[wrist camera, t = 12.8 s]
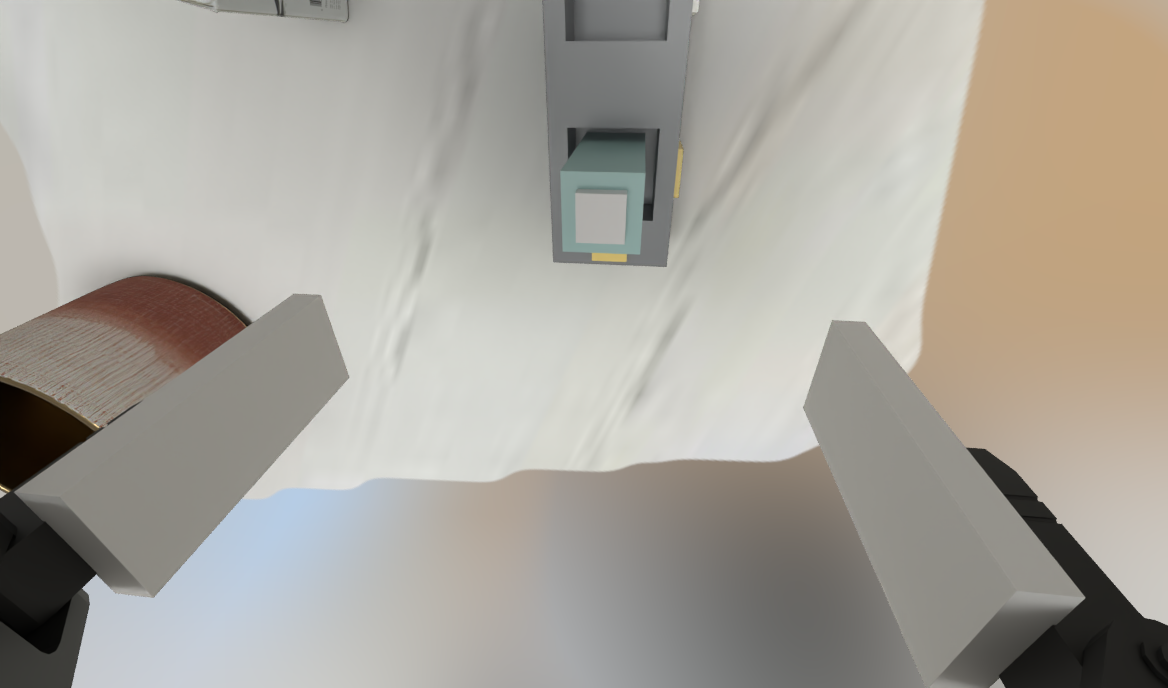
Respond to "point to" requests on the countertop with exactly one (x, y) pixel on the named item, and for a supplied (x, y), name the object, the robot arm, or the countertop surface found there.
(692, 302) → the countertop surface
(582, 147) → the plug
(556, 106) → the socket strip
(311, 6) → the ink box
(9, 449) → the planter
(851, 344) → the robot arm
